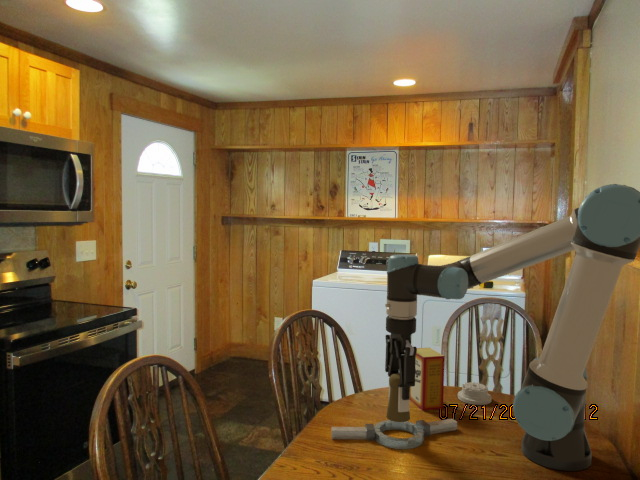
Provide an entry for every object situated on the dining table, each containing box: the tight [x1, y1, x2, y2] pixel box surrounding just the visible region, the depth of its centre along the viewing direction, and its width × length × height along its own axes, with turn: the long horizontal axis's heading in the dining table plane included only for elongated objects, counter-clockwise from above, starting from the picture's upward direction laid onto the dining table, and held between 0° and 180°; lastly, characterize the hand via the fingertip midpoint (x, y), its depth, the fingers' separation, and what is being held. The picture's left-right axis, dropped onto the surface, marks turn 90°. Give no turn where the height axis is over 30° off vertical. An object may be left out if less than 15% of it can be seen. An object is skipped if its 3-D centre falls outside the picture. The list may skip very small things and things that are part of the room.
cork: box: [386, 372, 411, 422], centre depth 130 cm, size 6×6×11 cm
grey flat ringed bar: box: [331, 418, 458, 450], centre depth 131 cm, size 33×13×3 cm, turn 91°
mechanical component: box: [457, 381, 493, 406], centre depth 158 cm, size 10×4×10 cm
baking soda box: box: [409, 347, 446, 412], centre depth 153 cm, size 10×6×16 cm
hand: (398, 406), depth 130 cm, fingers closed on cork, 5 cm apart
